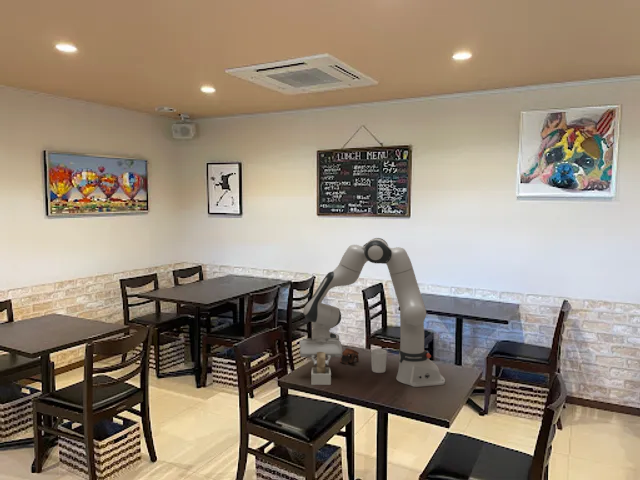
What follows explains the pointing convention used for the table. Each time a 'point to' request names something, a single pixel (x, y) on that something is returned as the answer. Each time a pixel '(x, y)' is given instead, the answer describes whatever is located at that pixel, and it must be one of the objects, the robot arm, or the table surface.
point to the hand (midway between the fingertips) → (321, 364)
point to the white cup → (378, 360)
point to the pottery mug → (351, 358)
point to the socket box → (320, 377)
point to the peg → (320, 362)
